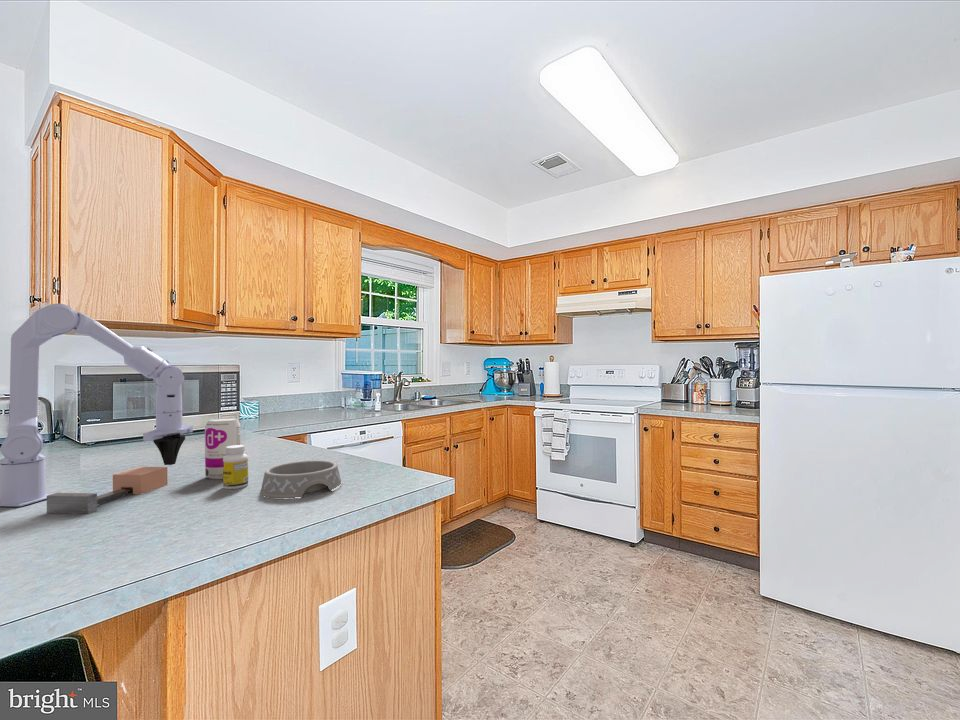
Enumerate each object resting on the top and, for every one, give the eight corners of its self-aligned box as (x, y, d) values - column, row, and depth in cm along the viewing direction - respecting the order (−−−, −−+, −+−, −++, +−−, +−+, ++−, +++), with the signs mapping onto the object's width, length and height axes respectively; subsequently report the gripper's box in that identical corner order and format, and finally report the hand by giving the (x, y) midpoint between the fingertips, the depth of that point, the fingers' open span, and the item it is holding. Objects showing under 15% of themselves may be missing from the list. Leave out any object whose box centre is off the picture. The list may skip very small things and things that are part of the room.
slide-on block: (112, 493, 106) (112, 474, 106) (141, 484, 114) (141, 466, 114) (140, 494, 106) (140, 474, 106) (167, 485, 114) (167, 466, 114)
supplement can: (225, 480, 117) (225, 421, 117) (197, 479, 119) (197, 421, 119) (247, 473, 125) (247, 418, 125) (221, 471, 127) (221, 417, 127)
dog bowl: (250, 489, 109) (249, 467, 109) (324, 476, 122) (324, 455, 122) (274, 505, 97) (274, 480, 97) (354, 488, 109) (354, 466, 109)
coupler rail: (46, 513, 92) (46, 495, 92) (104, 494, 105) (104, 479, 105) (87, 513, 92) (87, 496, 92) (141, 495, 105) (141, 479, 105)
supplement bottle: (219, 487, 111) (219, 446, 111) (243, 482, 115) (243, 443, 115) (227, 491, 107) (227, 449, 107) (251, 486, 111) (251, 445, 111)
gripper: (161, 415, 111) (162, 471, 111) (202, 409, 126) (203, 458, 126) (134, 415, 112) (135, 470, 112) (178, 409, 127) (179, 458, 126)
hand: (169, 464), depth 119 cm, fingers closed
